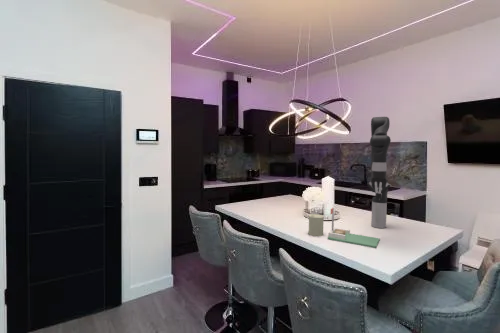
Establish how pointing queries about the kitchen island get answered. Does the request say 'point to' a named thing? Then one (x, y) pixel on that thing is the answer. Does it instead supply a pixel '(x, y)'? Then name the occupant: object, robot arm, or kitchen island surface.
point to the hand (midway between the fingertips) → (378, 199)
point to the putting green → (359, 240)
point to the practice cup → (332, 232)
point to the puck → (340, 231)
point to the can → (316, 225)
